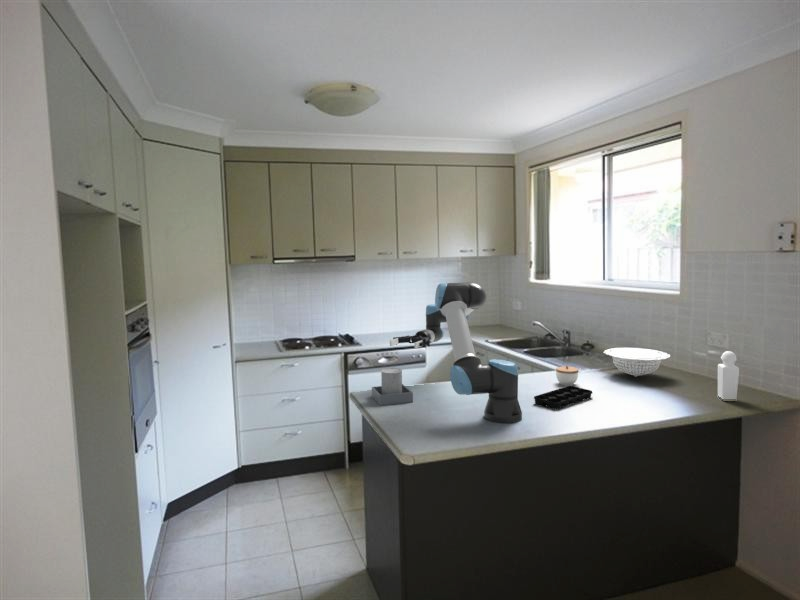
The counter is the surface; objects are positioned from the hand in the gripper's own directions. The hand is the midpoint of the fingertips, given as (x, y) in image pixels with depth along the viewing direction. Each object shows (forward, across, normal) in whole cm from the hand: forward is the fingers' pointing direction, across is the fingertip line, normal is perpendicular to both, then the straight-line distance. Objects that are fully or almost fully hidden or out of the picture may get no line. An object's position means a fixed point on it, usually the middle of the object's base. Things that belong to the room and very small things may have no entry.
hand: (402, 344), depth 250 cm
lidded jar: (-55, -63, -24) cm, 87 cm away
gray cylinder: (+10, 0, -23) cm, 25 cm away
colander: (-86, -91, -24) cm, 127 cm away
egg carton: (-25, -69, -25) cm, 77 cm away
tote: (+10, 0, -24) cm, 26 cm away
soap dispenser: (-61, -131, -24) cm, 147 cm away
